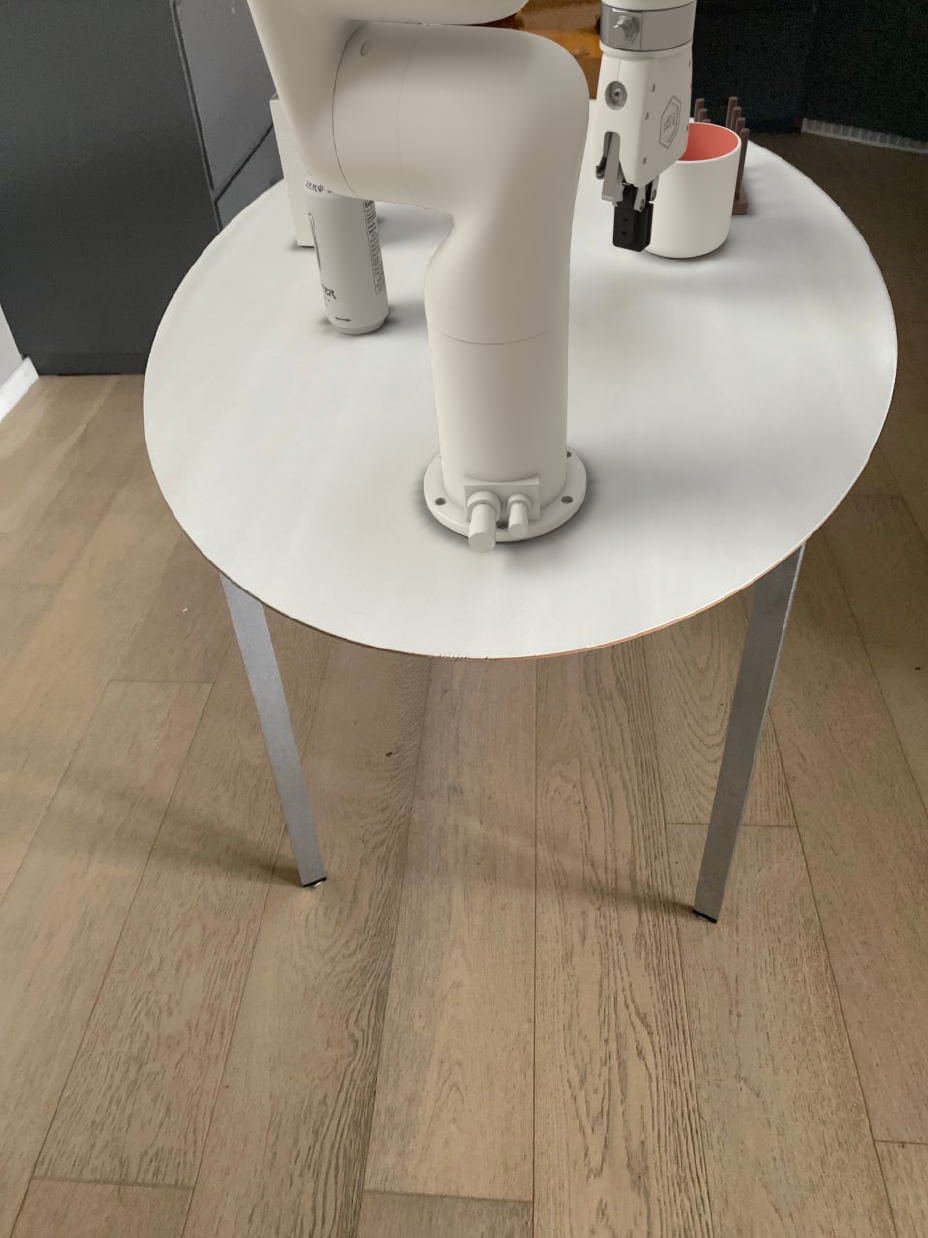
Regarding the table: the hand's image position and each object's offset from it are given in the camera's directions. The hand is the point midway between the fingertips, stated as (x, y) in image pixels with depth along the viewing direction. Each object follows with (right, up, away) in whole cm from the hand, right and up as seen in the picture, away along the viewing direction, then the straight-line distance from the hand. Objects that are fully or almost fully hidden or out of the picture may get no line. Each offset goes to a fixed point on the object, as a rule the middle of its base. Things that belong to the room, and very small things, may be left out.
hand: (631, 245), depth 90 cm
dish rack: (+12, +13, +18) cm, 25 cm away
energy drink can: (-26, -6, +3) cm, 27 cm away
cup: (+7, +4, +10) cm, 13 cm away
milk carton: (-30, +8, +17) cm, 35 cm away
